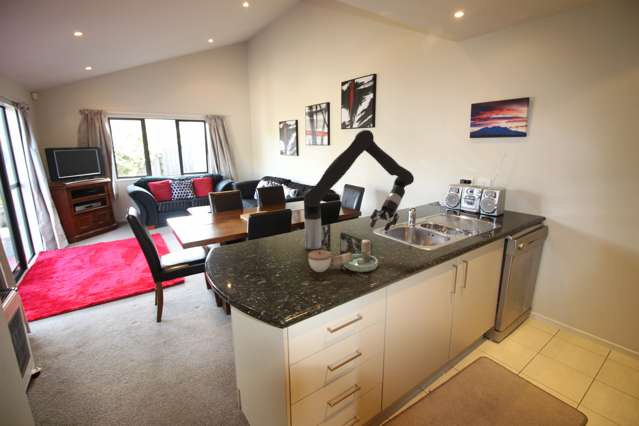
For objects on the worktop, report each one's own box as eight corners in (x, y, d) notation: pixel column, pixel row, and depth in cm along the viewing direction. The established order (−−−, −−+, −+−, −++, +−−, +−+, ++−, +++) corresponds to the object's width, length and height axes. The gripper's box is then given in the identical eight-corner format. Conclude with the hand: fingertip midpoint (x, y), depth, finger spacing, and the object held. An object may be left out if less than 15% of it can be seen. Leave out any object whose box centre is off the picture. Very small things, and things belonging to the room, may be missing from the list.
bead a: (362, 262, 148) (362, 242, 146) (360, 259, 152) (360, 240, 150) (371, 261, 148) (371, 242, 146) (369, 258, 153) (369, 239, 150)
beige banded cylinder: (352, 258, 146) (332, 264, 146) (350, 250, 144) (329, 256, 144) (354, 262, 141) (333, 268, 141) (351, 254, 140) (331, 260, 140)
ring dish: (347, 272, 139) (347, 266, 138) (341, 259, 154) (341, 254, 154) (381, 270, 140) (381, 264, 139) (372, 257, 156) (372, 252, 155)
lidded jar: (323, 276, 136) (323, 256, 133) (304, 271, 141) (303, 252, 139) (335, 267, 144) (335, 249, 142) (316, 263, 150) (316, 245, 148)
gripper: (377, 197, 163) (364, 222, 157) (401, 201, 153) (387, 227, 148) (382, 205, 168) (369, 229, 162) (406, 209, 158) (393, 235, 152)
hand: (378, 228), depth 155 cm, fingers open, 8 cm apart
